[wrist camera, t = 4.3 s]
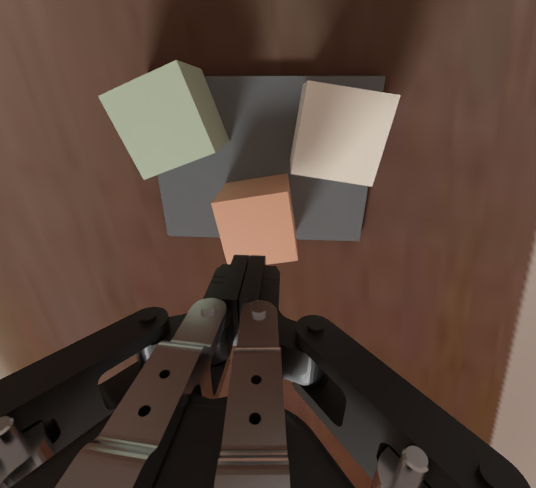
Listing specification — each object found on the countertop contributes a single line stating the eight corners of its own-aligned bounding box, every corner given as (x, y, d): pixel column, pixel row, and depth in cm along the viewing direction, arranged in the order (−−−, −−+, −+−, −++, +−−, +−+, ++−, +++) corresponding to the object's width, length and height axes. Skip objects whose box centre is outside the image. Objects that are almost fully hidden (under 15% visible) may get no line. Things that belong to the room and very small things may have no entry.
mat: (146, 77, 19) (141, 76, 18) (381, 76, 18) (385, 75, 17) (171, 231, 24) (167, 235, 23) (357, 236, 23) (359, 241, 22)
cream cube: (302, 84, 18) (307, 80, 14) (374, 96, 18) (400, 95, 14) (290, 158, 20) (290, 173, 16) (354, 169, 20) (372, 186, 16)
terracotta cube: (225, 183, 21) (210, 203, 17) (287, 173, 20) (287, 191, 16) (238, 239, 23) (228, 269, 19) (295, 231, 22) (297, 260, 18)
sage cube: (138, 96, 19) (98, 96, 15) (201, 68, 18) (176, 59, 14) (171, 164, 20) (143, 179, 16) (230, 141, 20) (215, 152, 16)
